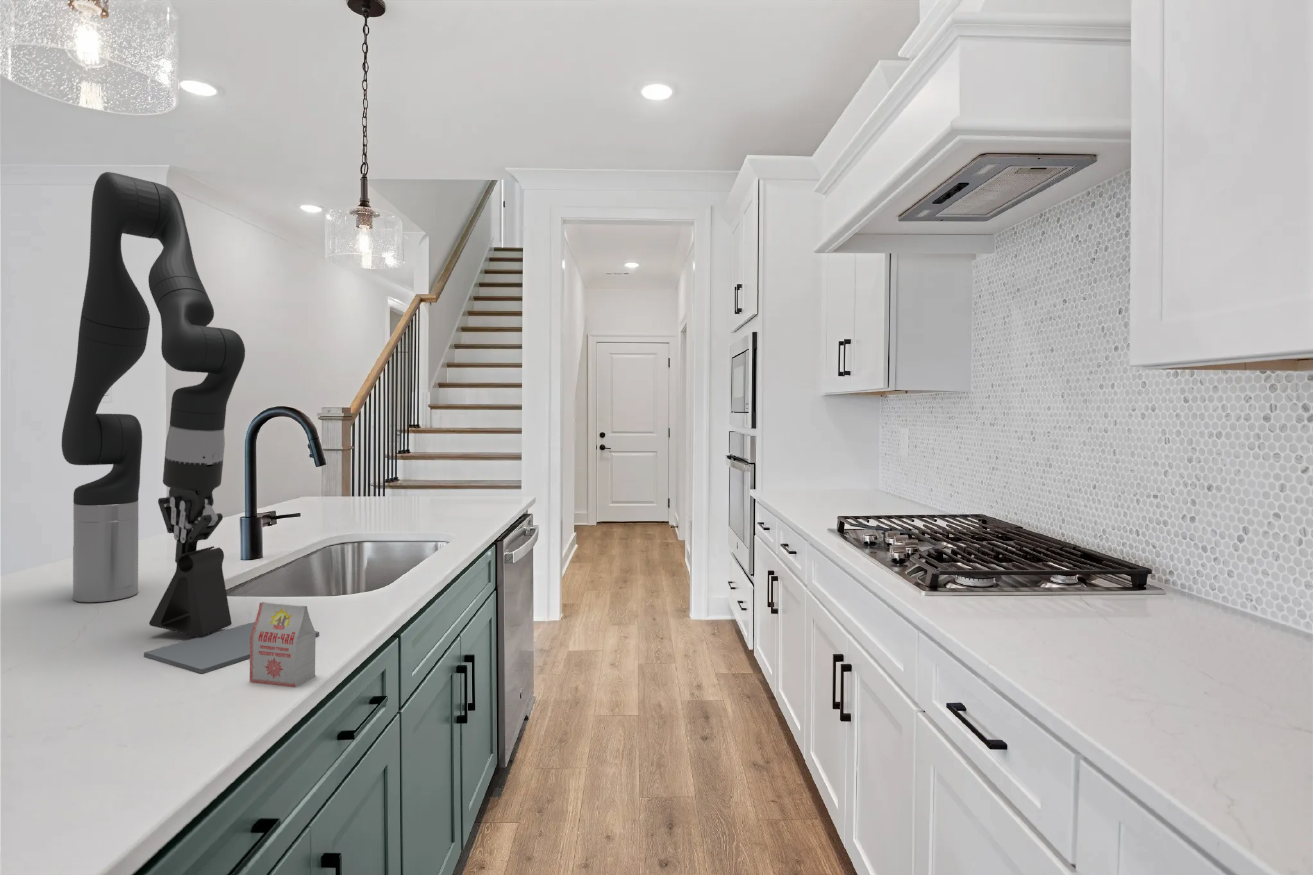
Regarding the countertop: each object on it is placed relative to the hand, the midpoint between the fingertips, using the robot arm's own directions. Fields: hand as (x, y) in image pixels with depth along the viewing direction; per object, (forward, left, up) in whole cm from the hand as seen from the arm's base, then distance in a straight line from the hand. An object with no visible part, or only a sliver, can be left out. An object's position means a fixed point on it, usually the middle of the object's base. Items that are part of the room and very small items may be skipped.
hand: (185, 563), depth 108 cm
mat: (+13, 0, -11) cm, 17 cm away
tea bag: (+30, -6, -11) cm, 33 cm away
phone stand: (+2, -1, -10) cm, 10 cm away
